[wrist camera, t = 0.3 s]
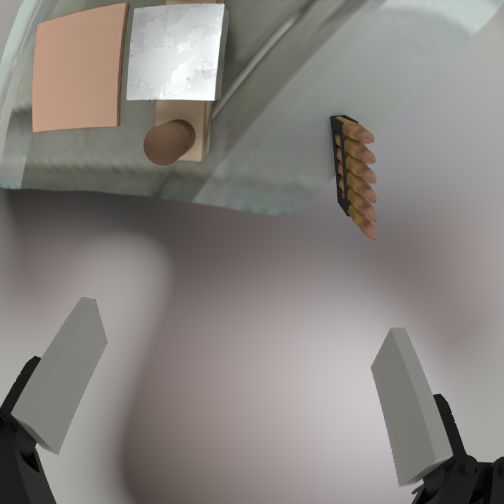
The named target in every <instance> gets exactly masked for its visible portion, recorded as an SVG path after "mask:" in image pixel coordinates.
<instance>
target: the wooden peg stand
mask: <svg viewBox="0 0 504 504" xmlns="http://www.w3.org/2000/svg"><path fill="white" fill-rule="evenodd" d="M178 4H224V0H166V4H165V5H178ZM212 108H213V101H212V100H183V99H156V115H155V127H154V128H152V129H151V130H150V131H149V132H148V133H147V135H146V137H145V139H144V151H145V154H146V156H147V157H148V158H149V159H150V160H151V161H152V162H153V163H155V164H158V165H169V164H172V163H174V162H175V161H176V160H182V161H198V162H201V161H202V160H203V159H204V158H205V157H206V155H207V154H208V153H209V149H210V135H211V121H212Z"/></svg>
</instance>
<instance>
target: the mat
mask: <svg viewBox="0 0 504 504" xmlns="http://www.w3.org/2000/svg"><path fill="white" fill-rule="evenodd" d="M128 6H129V4H128V3H120V4H115V5H109V6H104V7H99V8H94V9H90V10H86V11H82V12H78V13H74V14H70V15H66V16H63V17H59V18H56V19H53V20H49V21H46V22H43V23H40V24H38V27H37V35H36V44H35V54H34V68H33V94H32V113H33V132H40V131H50V130H60V129H73V128H88V127H111V126H119V116H120V87H121V70H122V57H123V46H124V37H125V28H126V20H127V13H128Z"/></svg>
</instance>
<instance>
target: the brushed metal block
mask: <svg viewBox="0 0 504 504" xmlns="http://www.w3.org/2000/svg"><path fill="white" fill-rule="evenodd" d="M229 15H230V14H229V12H228V10H227V8H226V6H225V4H178V5H163V6H152V7H143V8H135V10H134V18H133V25H132V34H131V43H130V53H129V65H128V80H127V100H151V99H183V100H212V101H215V100H220V99H221V90H222V79H223V69H224V59H225V50H226V41H227V32H228V24H229Z"/></svg>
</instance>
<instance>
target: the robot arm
mask: <svg viewBox="0 0 504 504" xmlns="http://www.w3.org/2000/svg"><path fill="white" fill-rule="evenodd" d="M107 343H108V342H107V338H106V335H105V331H104V328H103V325H102V321H101V318H100V314H99V310H98V307H97V303H96V300H95V299H91V298H85V297H81V299H80V300H79V302H78V303H77V305H76V306H75V307H74V309H73V310H72V312H71V313H70V315H69V316H68V318H67V319H66V321H65V322H64V324H63V325H62V327H61V328H60V330H59V332H58V333H57V334H56V336H55V338H54V339H53V341H52V342H51V344H50V346H49V347H48V349H47V350H46V352H45V353H44V355H43V357H42V358H40V357H37V356H34V357H33V358H32V359H30V360H29V361H28V362H27V363H26V364H25V366H24V368H23V369H22V371H21V372H20V373H21V374H20V375H19V376H18V377H17V379H16V382H15V383H14V384H13V386H12V388H11V390H10V391H9V393H8V395H7V397H6V399H5V400H4V402H3V404H2V406H1V407H0V504H56V501H55V499H54V497H53V494H52V492H51V490H50V487H49V484H48V481H47V479H46V476H45V473H44V471H43V468H42V465H41V462H40V459H39V456H38V453H37V450H36V448H35V446H36V443H38V444H39V445H40V446H41V447H42V448H43V449H46V450H47V451H50V452H52V453H54V454H57V455H58V454H59V451H60V448H61V446H62V444H63V441H64V438H65V436H66V433H67V431H68V429H69V426H70V424H71V421H72V419H73V416H74V414H75V412H76V409H77V407H78V405H79V403H80V400H81V398H82V396H83V393H84V391H85V389H86V387H87V385H88V382H89V380H90V378H91V376H92V374H93V372H94V369H95V367H96V365H97V363H98V361H99V359H100V357H101V355H102V353H103V351H104V349H105V347H106V345H107ZM371 370H372V373H373V377H374V380H375V384H376V388H377V392H378V396H379V399H380V403H381V406H382V411H383V415H384V419H385V423H386V427H387V432H388V436H389V440H390V445H391V449H392V453H393V458H394V463H395V468H396V473H397V478H398V484H399V487H402V486H407V485H411V484H415V483H417V482H418V481H419V480H421V479H423V481H424V484H423V485H421V486H419V487H418V488H416V489H415V490H414V491H413V492H412V494H415V493H416V492H418V493H417V495H416V497H415V499H414V500H413V502H412V504H504V457H500V458H499V459H497V460H496V461H495V462H493V463H489V462H477V460H476V459H475V458H474V457H472V456H470V455H467V454H466V452H465V449H464V446H463V443H462V440H461V437H460V434H459V431H458V428H457V426H456V423H454V422H455V420H454V417H453V415H452V412H451V409H450V407H449V404H448V402H447V401H446V400H445V398H444V397H443V396H442V395H441V394H435V395H432V392H431V389H430V386H429V384H428V381H427V379H426V377H425V374H424V371H423V369H422V366H421V364H420V361H419V359H418V357H417V354H416V352H415V350H414V347H413V345H412V343H411V341H410V338H409V336H408V334H407V331H406V329H405V328H390V330H389V332H388V334H387V336H386V338H385V340H384V342H383V344H382V346H381V348H380V350H379V352H378V354H377V356H376V358H375V360H374V363H373V364H372V366H371Z"/></svg>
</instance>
